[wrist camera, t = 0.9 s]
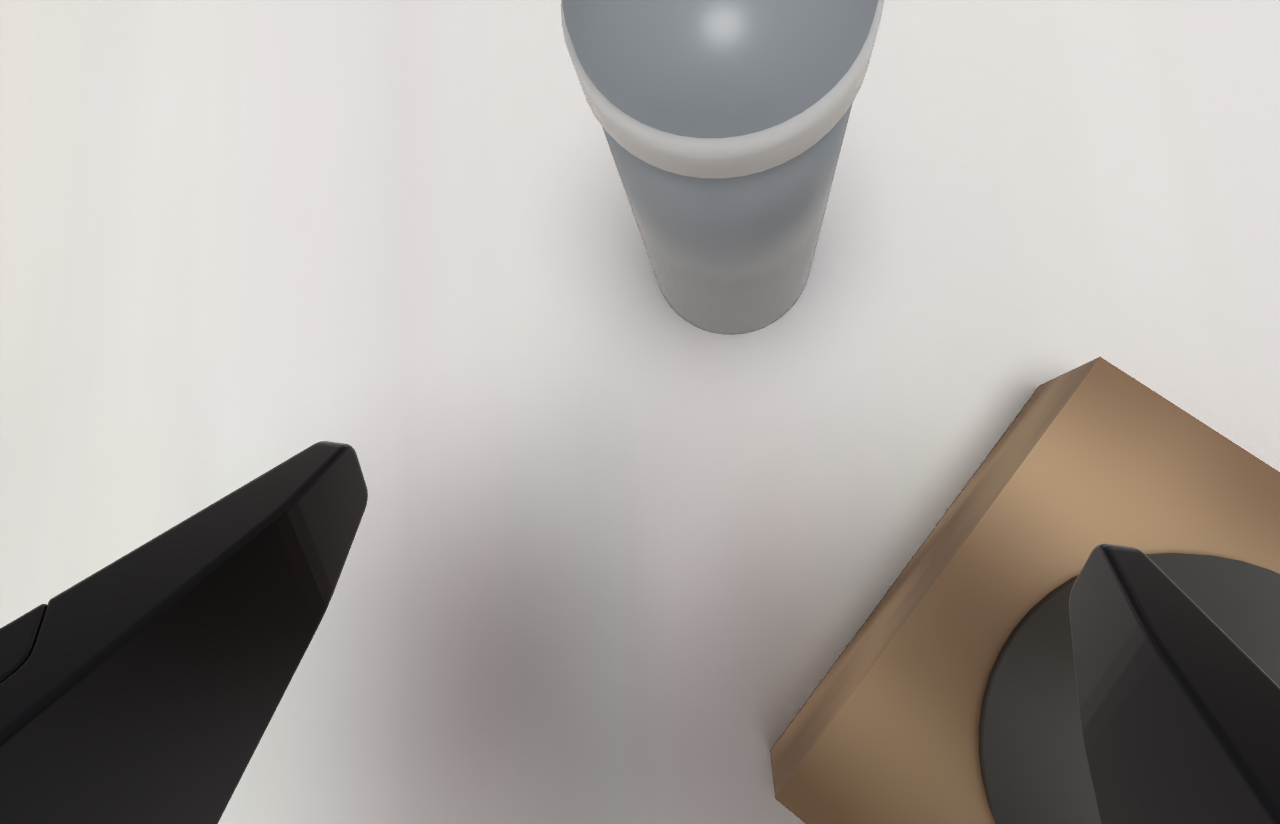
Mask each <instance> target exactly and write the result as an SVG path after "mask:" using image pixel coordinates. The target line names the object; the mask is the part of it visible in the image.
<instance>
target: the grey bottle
mask: <svg viewBox="0 0 1280 824" xmlns="http://www.w3.org/2000/svg"><path fill="white" fill-rule="evenodd" d="M883 3H884V0H561V16H562V27H563V32H564V37H565V42H566V46H567V48H568V51H569V54H570V57H571V60H572V62H573V65H574V68H575V70H576V73H577V76H578V78H579V81H580V84H581V86H582V89H583V92H584V94H585V97H586V100H587V102H588V104H589V106H590V108H591V110H592V111H593V113H594V115H595V117H596V118H597V120H598V121H599V122H600V124H601V125H602V127H603V130H604V133H605V136H606V138H607V141H608V144H609V147H610V149H611V152H612V155H613V158H614V161H615V163H616V166H617V169H618V172H619V175H620V177H621V180H622V183H623V186H624V188H625V191H626V194H627V197H628V200H629V202H630V205H631V208H632V211H633V214H634V216H635V219H636V222H637V225H638V228H639V230H640V233H641V236H642V239H643V241H644V244H645V247H646V250H647V253H648V255H649V258H650V261H651V264H652V267H653V269H654V272H655V275H656V278H657V281H658V283H659V286H660V289H661V291H662V293H663V295H664V297H665V299H666V300H667V302H668V303H669V304H670V306H671V307H672V308H673V309H674V310H675V311H676V313H677V314H679V315H680V316H681V317H682V318H683V319H685V320H686V321H688V322H689V323H691V324H693V325H694V326H697V327H699V328H701V329H703V330H707V331H710V332H714V333H720V334H742V333H747V332H752V331H755V330H758V329H761V328H764V327H765V326H767V325H769V324H771V323H773V322H775V321H776V320H778V319H779V318H780V317H782V316H783V315H784V314H785V313H786V312H787V311H788V310H789V309H790V308H791V307H792V306H793V305H794V304H795V302H796V301H797V299H798V298H799V296H800V295H801V293H802V291H803V289H804V287H805V285H806V282H807V279H808V276H809V272H810V268H811V264H812V260H813V256H814V252H815V248H816V244H817V240H818V236H819V232H820V229H821V225H822V221H823V217H824V213H825V209H826V205H827V201H828V197H829V193H830V189H831V185H832V181H833V177H834V173H835V169H836V166H837V162H838V158H839V154H840V150H841V146H842V142H843V138H844V134H845V130H846V126H847V122H848V118H849V114H850V110H851V107H852V103H853V101H854V99H855V97H856V95H857V93H858V91H859V89H860V87H861V85H862V82H863V80H864V77H865V74H866V71H867V67H868V64H869V61H870V57H871V53H872V50H873V46H874V42H875V38H876V35H877V31H878V27H879V23H880V20H881V15H882V9H883Z"/></svg>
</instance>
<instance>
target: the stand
mask: <svg viewBox="0 0 1280 824" xmlns="http://www.w3.org/2000/svg"><path fill="white" fill-rule="evenodd" d="M1099 544H1112V545H1120V546H1128V547H1134V548H1137V549H1139V550H1141V551H1142V552H1143V553H1145V554H1146V555H1147V556H1148V557H1149V558H1150V559H1151V560H1152V561H1153V562H1154V563H1155V564H1156V565H1157V566H1158V567H1159V568H1160V569H1161V570H1162V571H1163V572H1164V573H1165V574H1166V575H1167V576H1168V577H1169V578H1170V579H1171V580H1172V581H1173V582H1174V583H1175V584H1176V585H1177V586H1178V587H1179V588H1180V589H1181V590H1182V591H1183V592H1184V593H1185V594H1186V595H1187V596H1188V597H1189V598H1190V599H1191V600H1192V601H1193V602H1194V603H1195V604H1196V605H1197V606H1198V607H1199V608H1200V609H1201V610H1202V611H1203V612H1204V613H1205V614H1206V615H1207V616H1208V617H1209V618H1210V619H1211V620H1212V621H1213V622H1214V623H1215V624H1216V625H1217V626H1218V627H1219V628H1221V629H1222V630H1223V631H1224V632H1225V633H1226V634H1227V635H1228V636H1229V637H1230V638H1231V639H1232V640H1233V641H1234V642H1235V643H1236V644H1237V645H1238V646H1239V647H1240V648H1241V649H1242V650H1243V651H1244V652H1245V653H1246V654H1247V655H1248V656H1249V657H1250V658H1251V659H1252V660H1253V661H1254V662H1255V663H1256V664H1257V665H1258V666H1259V667H1260V668H1261V669H1262V670H1263V671H1264V672H1265V673H1266V674H1267V675H1268V676H1269V677H1270V678H1271V679H1272V680H1273V681H1274V682H1275V683H1276V684H1277V685H1278V686H1279V687H1280V472H1278V471H1277V470H1275V469H1274V468H1272V467H1271V466H1269V465H1267V464H1266V463H1264V462H1263V461H1261V460H1260V459H1258V458H1257V457H1255V456H1253V455H1252V454H1250V453H1249V452H1247V451H1246V450H1244V449H1243V448H1241V447H1239V446H1238V445H1236V444H1235V443H1233V442H1232V441H1230V440H1229V439H1227V438H1226V437H1224V436H1222V435H1221V434H1219V433H1218V432H1216V431H1215V430H1213V429H1212V428H1210V427H1208V426H1207V425H1205V424H1204V423H1202V422H1201V421H1199V420H1198V419H1196V418H1194V417H1193V416H1191V415H1190V414H1188V413H1187V412H1185V411H1184V410H1182V409H1180V408H1179V407H1177V406H1176V405H1174V404H1173V403H1171V402H1170V401H1168V400H1166V399H1165V398H1163V397H1162V396H1160V395H1159V394H1157V393H1156V392H1154V391H1152V390H1151V389H1149V388H1148V387H1146V386H1145V385H1143V384H1142V383H1140V382H1138V381H1137V380H1135V379H1134V378H1132V377H1131V376H1129V375H1128V374H1126V373H1124V372H1123V371H1121V370H1120V369H1118V368H1117V367H1115V366H1114V365H1112V364H1110V363H1109V362H1107V361H1106V360H1104V359H1103V358H1101V357H1099V358H1097V359H1095V360H1093V361H1091V362H1088V363H1086V364H1084V365H1082V366H1080V367H1078V368H1076V369H1074V370H1072V371H1069V372H1067V373H1065V374H1063V375H1061V376H1059V377H1057V378H1055V379H1053V380H1050V381H1048V382H1046V383H1044V384H1042V385H1040V386H1039V387H1038V388H1037V390H1036V391H1035V393H1034V394H1033V395H1032V397H1031V398H1030V399H1029V401H1028V402H1027V403H1026V405H1025V406H1024V407H1023V409H1022V410H1021V412H1020V413H1019V414H1018V416H1017V417H1016V418H1015V420H1014V421H1013V422H1012V424H1011V425H1010V426H1009V428H1008V429H1007V431H1006V432H1005V433H1004V435H1003V436H1002V437H1001V439H1000V440H999V441H998V443H997V444H996V445H995V447H994V448H993V449H992V451H991V452H990V454H989V455H988V456H987V458H986V459H985V460H984V462H983V463H982V464H981V466H980V467H979V468H978V470H977V471H976V473H975V474H974V475H973V477H972V478H971V479H970V481H969V482H968V483H967V485H966V486H965V487H964V489H963V490H962V492H961V493H960V494H959V496H958V497H957V498H956V500H955V501H954V502H953V504H952V505H951V506H950V508H949V509H948V510H947V512H946V513H945V515H944V516H943V517H942V519H941V520H940V521H939V523H938V524H937V525H936V527H935V528H934V529H933V531H932V532H931V534H930V535H929V536H928V538H927V539H926V540H925V542H924V543H923V544H922V546H921V547H920V548H919V550H918V551H917V553H916V554H915V555H914V557H913V558H912V559H911V561H910V562H909V563H908V565H907V566H906V567H905V569H904V570H903V571H902V573H901V574H900V576H899V577H898V578H897V580H896V581H895V582H894V584H893V585H892V586H891V588H890V589H889V590H888V592H887V593H886V595H885V596H884V597H883V599H882V600H881V601H880V603H879V604H878V605H877V607H876V608H875V609H874V611H873V612H872V614H871V615H870V616H869V618H868V619H867V620H866V622H865V623H864V624H863V626H862V627H861V628H860V630H859V631H858V632H857V634H856V635H855V637H854V638H853V639H852V641H851V642H850V643H849V645H848V646H847V647H846V649H845V650H844V651H843V653H842V654H841V656H840V657H839V658H838V660H837V661H836V662H835V664H834V665H833V666H832V668H831V669H830V670H829V672H828V673H827V675H826V676H825V677H824V679H823V680H822V681H821V683H820V684H819V685H818V687H817V688H816V689H815V691H814V692H813V694H812V695H811V696H810V698H809V699H808V700H807V702H806V703H805V704H804V706H803V707H802V708H801V710H800V711H799V712H798V714H797V715H796V717H795V718H794V719H793V721H792V722H791V723H790V725H789V726H788V727H787V729H786V730H785V731H784V733H783V734H782V736H781V737H780V738H779V740H778V741H777V742H776V744H775V745H774V746H773V748H772V749H771V750H770V754H771V763H772V772H773V781H774V790H775V798H776V799H777V800H778V801H779V802H780V803H782V804H783V805H784V806H785V807H786V808H788V809H789V810H790V811H791V812H792V813H794V814H795V815H796V816H797V817H798V818H800V819H801V820H802V821H803V822H804V823H806V824H1101V821H1100V816H1099V812H1098V807H1097V803H1096V798H1095V794H1094V789H1093V785H1092V780H1091V776H1090V771H1089V767H1088V762H1087V758H1086V753H1085V748H1084V742H1083V737H1082V732H1081V724H1080V716H1079V707H1078V696H1077V686H1076V675H1075V665H1074V655H1073V644H1072V634H1071V624H1070V613H1069V598H1070V593H1071V589H1072V587H1073V585H1074V583H1075V581H1076V579H1077V577H1078V576H1079V574H1080V572H1081V570H1082V568H1083V566H1084V565H1085V563H1086V561H1087V559H1088V557H1089V555H1090V553H1091V552H1092V550H1093V549H1094V548H1095V547H1096V546H1097V545H1099Z"/></svg>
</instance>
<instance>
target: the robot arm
mask: <svg viewBox="0 0 1280 824" xmlns="http://www.w3.org/2000/svg"><path fill="white" fill-rule="evenodd" d="M367 498H368V493H367V487H366V483H365V480H364V477H363V474H362V470H361V467H360V464H359V461H358V458H357V454H356V452H355V450H354V449H353V448H352V447H351V446H350V445H348V444H342V443H335V442H327V441H322V442H318V443H316V444H314V445H312V446H310V447H309V448H307V449H305V450H304V451H302V452H300V453H298V454H297V455H295V456H293V457H292V458H290V459H288V460H287V461H285V462H283V463H281V464H280V465H278V466H276V467H275V468H273V469H271V470H270V471H268V472H266V473H264V474H263V475H261V476H259V477H258V478H256V479H254V480H253V481H251V482H249V483H247V484H246V485H244V486H242V487H241V488H239V489H237V490H236V491H234V492H232V493H230V494H229V495H227V496H225V497H224V498H222V499H220V500H219V501H217V502H215V503H213V504H212V505H210V506H208V507H207V508H205V509H203V510H202V511H200V512H198V513H196V514H195V515H193V516H191V517H190V518H188V519H186V520H185V521H183V522H181V523H179V524H178V525H176V526H174V527H173V528H171V529H169V530H168V531H166V532H164V533H163V534H161V535H159V536H157V537H156V538H154V539H152V540H151V541H149V542H147V543H146V544H144V545H142V546H140V547H139V548H137V549H135V550H134V551H132V552H130V553H129V554H127V555H125V556H123V557H122V558H120V559H118V560H117V561H115V562H113V563H112V564H110V565H108V566H106V567H105V568H103V569H101V570H100V571H98V572H96V573H94V574H93V575H91V576H89V577H88V578H86V579H84V580H83V581H81V582H79V583H77V584H76V585H74V586H72V587H71V588H69V589H67V590H66V591H64V592H62V593H60V594H59V595H57V596H55V597H54V598H52V599H51V600H50V601H49V602H48V605H47V604H42V605H40V606H38V607H36V608H35V609H33V610H31V611H30V612H28V613H26V614H24V615H23V616H21V617H19V618H18V619H16V620H14V621H13V622H11V623H9V624H7V625H6V626H4V627H2V628H0V824H218V822H219V820H220V818H221V816H222V814H223V812H224V810H225V808H226V806H227V804H228V802H229V800H230V798H231V796H232V794H233V792H234V790H235V788H236V787H237V785H238V783H239V781H240V779H241V777H242V775H243V773H244V771H245V769H246V767H247V765H248V763H249V761H250V759H251V757H252V755H253V753H254V751H255V749H256V747H257V745H258V743H259V742H260V740H261V738H262V736H263V734H264V732H265V730H266V728H267V726H268V724H269V722H270V720H271V718H272V716H273V714H274V712H275V710H276V708H277V706H278V704H279V702H280V700H281V698H282V696H283V695H284V693H285V691H286V689H287V687H288V685H289V683H290V681H291V679H292V677H293V675H294V673H295V671H296V669H297V667H298V665H299V663H300V661H301V659H302V657H303V655H304V653H305V651H306V650H307V648H308V646H309V644H310V642H311V640H312V638H313V636H314V634H315V632H316V630H317V628H318V626H319V624H320V622H321V620H322V618H323V616H324V614H325V612H326V609H327V607H328V605H329V602H330V600H331V597H332V595H333V593H334V590H335V587H336V585H337V582H338V580H339V577H340V574H341V572H342V569H343V566H344V564H345V561H346V558H347V556H348V553H349V550H350V548H351V545H352V543H353V540H354V537H355V535H356V532H357V529H358V527H359V524H360V521H361V519H362V516H363V513H364V511H365V508H366V504H367ZM1069 613H1070V624H1071V634H1072V644H1073V655H1074V665H1075V675H1076V686H1077V696H1078V707H1079V716H1080V724H1081V732H1082V737H1083V742H1084V748H1085V753H1086V758H1087V762H1088V767H1089V771H1090V776H1091V780H1092V785H1093V789H1094V794H1095V798H1096V803H1097V807H1098V812H1099V816H1100V821H1101V824H1280V687H1279V686H1278V685H1277V684H1276V683H1275V682H1274V681H1273V680H1272V679H1271V678H1270V677H1269V676H1268V675H1267V674H1266V673H1265V672H1264V671H1263V670H1262V669H1261V668H1260V667H1259V666H1258V665H1257V664H1256V663H1255V662H1254V661H1253V660H1252V659H1251V658H1250V657H1249V656H1248V655H1247V654H1246V653H1245V652H1244V651H1243V650H1242V649H1241V648H1240V647H1239V646H1238V645H1237V644H1236V643H1235V642H1234V641H1233V640H1232V639H1231V638H1230V637H1229V636H1228V635H1227V634H1226V633H1225V632H1224V631H1223V630H1222V629H1221V628H1219V627H1218V626H1217V625H1216V624H1215V623H1214V622H1213V621H1212V620H1211V619H1210V618H1209V617H1208V616H1207V615H1206V614H1205V613H1204V612H1203V611H1202V610H1201V609H1200V608H1199V607H1198V606H1197V605H1196V604H1195V603H1194V602H1193V601H1192V600H1191V599H1190V598H1189V597H1188V596H1187V595H1186V594H1185V593H1184V592H1183V591H1182V590H1181V589H1180V588H1179V587H1178V586H1177V585H1176V584H1175V583H1174V582H1173V581H1172V580H1171V579H1170V578H1169V577H1168V576H1167V575H1166V574H1165V573H1164V572H1163V571H1162V570H1161V569H1160V568H1159V567H1158V566H1157V565H1156V564H1155V563H1154V562H1153V561H1152V560H1151V559H1150V558H1149V557H1148V556H1147V555H1146V554H1145V553H1143V552H1142V551H1141V550H1139V549H1137V548H1134V547H1128V546H1120V545H1112V544H1099V545H1097V546H1096V547H1095V548H1094V549H1093V550H1092V552H1091V553H1090V555H1089V557H1088V559H1087V561H1086V563H1085V565H1084V566H1083V568H1082V570H1081V572H1080V574H1079V576H1078V577H1077V579H1076V581H1075V583H1074V585H1073V587H1072V589H1071V593H1070V598H1069Z"/></svg>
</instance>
